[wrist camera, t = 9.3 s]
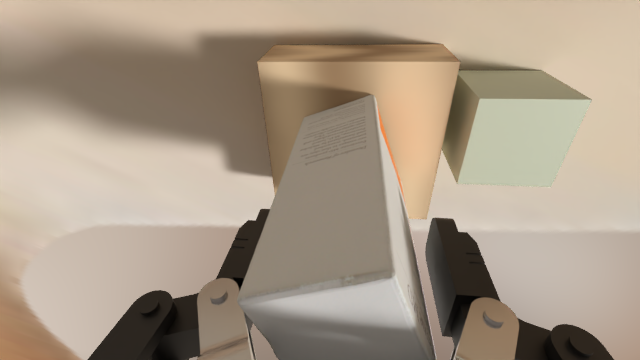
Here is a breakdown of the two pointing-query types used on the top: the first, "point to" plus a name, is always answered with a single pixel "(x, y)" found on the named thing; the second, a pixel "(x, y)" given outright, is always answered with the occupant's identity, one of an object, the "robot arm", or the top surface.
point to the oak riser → (357, 82)
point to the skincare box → (339, 249)
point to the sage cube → (511, 127)
